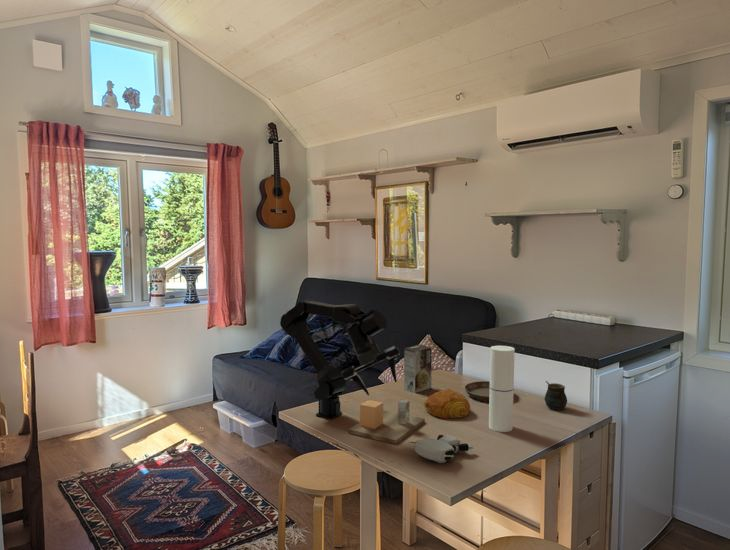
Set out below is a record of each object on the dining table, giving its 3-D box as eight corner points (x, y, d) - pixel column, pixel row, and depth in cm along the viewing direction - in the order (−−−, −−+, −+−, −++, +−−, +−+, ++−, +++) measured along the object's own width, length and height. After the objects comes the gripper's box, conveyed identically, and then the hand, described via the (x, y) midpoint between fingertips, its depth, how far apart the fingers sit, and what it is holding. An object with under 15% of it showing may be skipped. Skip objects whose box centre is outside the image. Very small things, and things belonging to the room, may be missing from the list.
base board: (348, 433, 160) (348, 429, 160) (380, 413, 177) (380, 409, 177) (395, 444, 152) (395, 440, 152) (424, 422, 169) (424, 418, 169)
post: (397, 423, 165) (398, 401, 164) (401, 421, 167) (401, 399, 166) (405, 425, 164) (405, 403, 163) (409, 422, 166) (409, 400, 165)
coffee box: (419, 384, 210) (420, 344, 208) (431, 388, 205) (432, 347, 204) (403, 389, 204) (403, 347, 203) (415, 393, 199) (415, 350, 198)
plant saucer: (491, 407, 184) (491, 398, 184) (454, 394, 198) (454, 386, 198) (523, 397, 195) (523, 389, 194) (485, 386, 209) (486, 378, 209)
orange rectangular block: (360, 425, 163) (360, 404, 163) (368, 420, 168) (368, 399, 167) (374, 428, 161) (374, 407, 160) (383, 423, 165) (383, 402, 165)
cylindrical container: (496, 433, 161) (497, 351, 158) (484, 424, 168) (486, 346, 165) (517, 430, 163) (519, 350, 160) (504, 422, 169) (506, 345, 167)
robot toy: (440, 444, 155) (405, 456, 144) (440, 429, 154) (406, 439, 144) (475, 457, 146) (442, 471, 135) (476, 441, 146) (443, 453, 135)
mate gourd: (571, 410, 181) (572, 381, 180) (554, 413, 178) (554, 384, 177) (556, 403, 187) (557, 375, 186) (539, 406, 185) (540, 378, 184)
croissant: (456, 409, 188) (456, 386, 189) (476, 418, 173) (476, 393, 174) (418, 411, 185) (417, 388, 185) (435, 421, 170) (434, 395, 170)
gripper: (329, 353, 158) (351, 402, 154) (386, 326, 158) (409, 375, 154) (335, 355, 169) (356, 401, 165) (389, 330, 169) (410, 376, 165)
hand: (382, 388), depth 162 cm, fingers open, 9 cm apart
